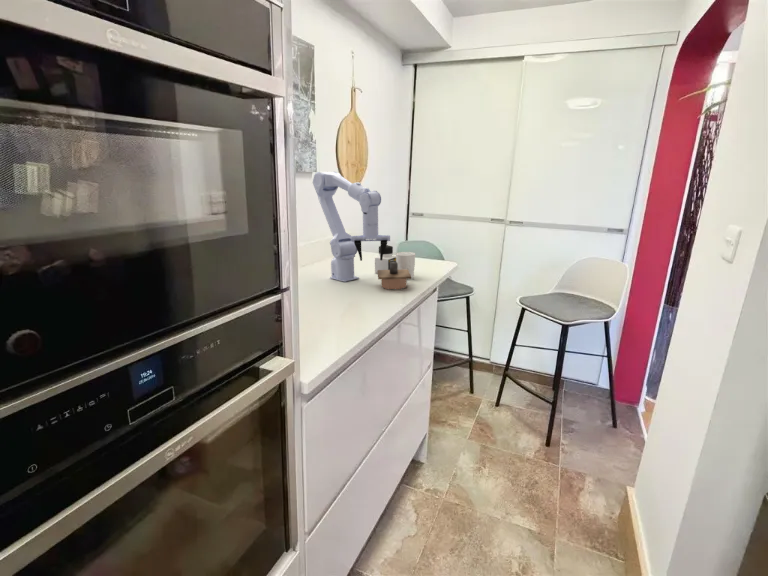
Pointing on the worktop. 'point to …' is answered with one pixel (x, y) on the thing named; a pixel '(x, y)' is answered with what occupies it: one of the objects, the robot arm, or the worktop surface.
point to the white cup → (406, 261)
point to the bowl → (393, 283)
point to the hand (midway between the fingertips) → (371, 260)
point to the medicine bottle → (384, 259)
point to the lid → (393, 273)
